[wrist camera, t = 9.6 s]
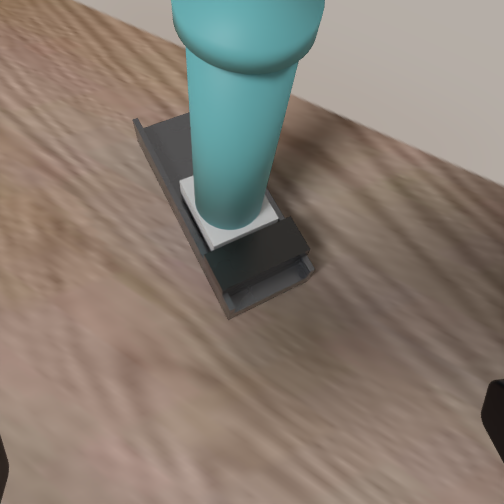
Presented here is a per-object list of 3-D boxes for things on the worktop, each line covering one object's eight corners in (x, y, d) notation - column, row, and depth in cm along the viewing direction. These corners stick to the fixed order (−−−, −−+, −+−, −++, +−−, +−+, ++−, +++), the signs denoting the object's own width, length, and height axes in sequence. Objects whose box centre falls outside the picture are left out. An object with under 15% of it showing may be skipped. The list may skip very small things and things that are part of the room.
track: (306, 281, 23) (319, 264, 20) (227, 320, 22) (230, 306, 19) (210, 115, 26) (210, 83, 24) (137, 141, 25) (130, 109, 23)
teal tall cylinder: (277, 229, 23) (353, 23, 11) (210, 259, 22) (212, 68, 10) (243, 171, 24) (278, -74, 12) (178, 197, 23) (145, -42, 11)
